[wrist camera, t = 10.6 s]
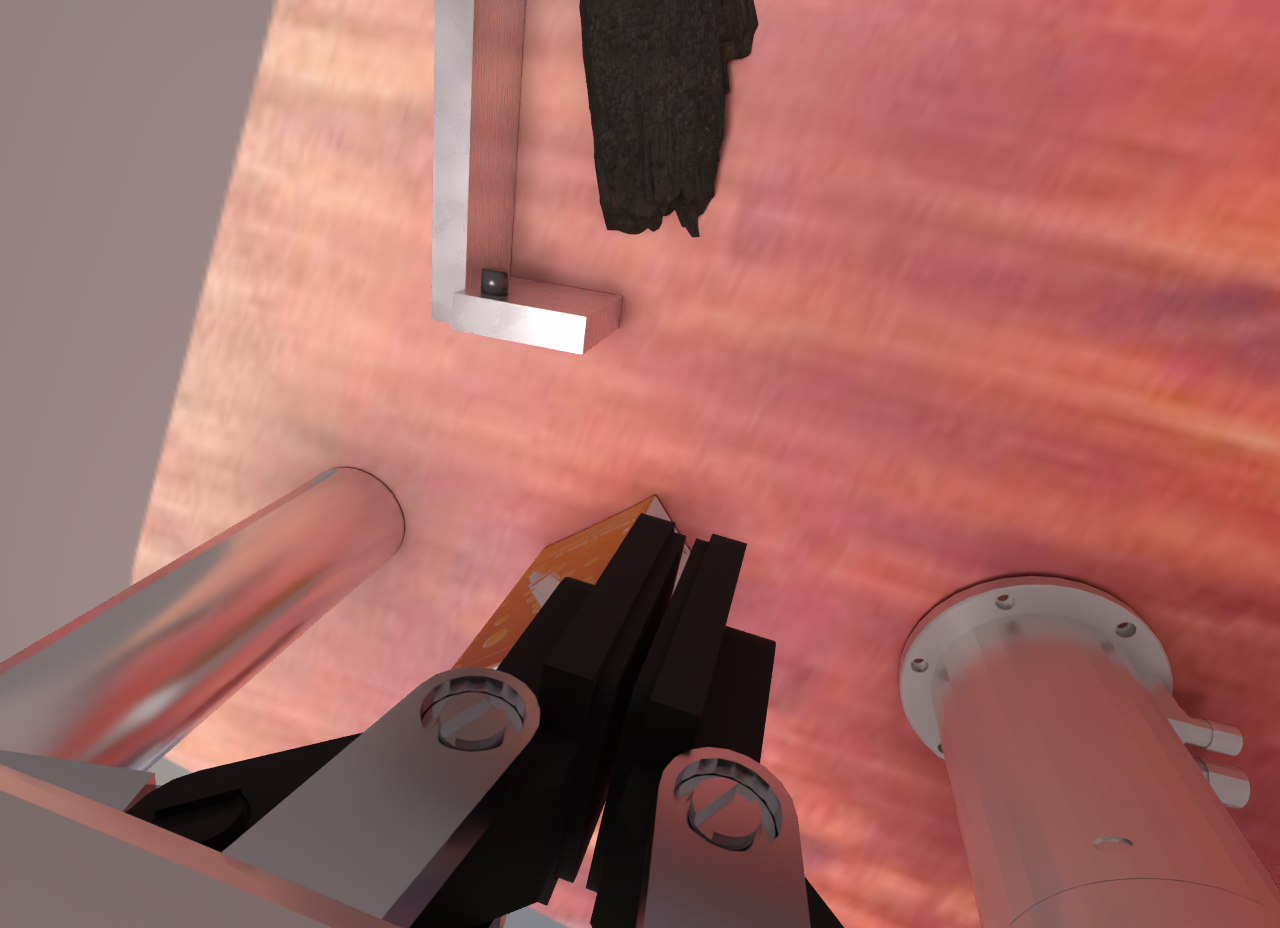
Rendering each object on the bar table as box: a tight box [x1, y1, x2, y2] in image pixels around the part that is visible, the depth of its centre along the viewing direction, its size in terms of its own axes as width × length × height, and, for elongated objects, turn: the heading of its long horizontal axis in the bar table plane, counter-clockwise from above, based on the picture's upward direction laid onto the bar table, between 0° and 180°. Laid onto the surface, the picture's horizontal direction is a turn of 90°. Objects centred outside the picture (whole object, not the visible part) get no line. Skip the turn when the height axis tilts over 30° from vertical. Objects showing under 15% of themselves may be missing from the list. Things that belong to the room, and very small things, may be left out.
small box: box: [451, 496, 690, 670], centre depth 34 cm, size 8×6×13 cm
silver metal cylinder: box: [0, 467, 404, 772], centre depth 32 cm, size 6×6×25 cm
